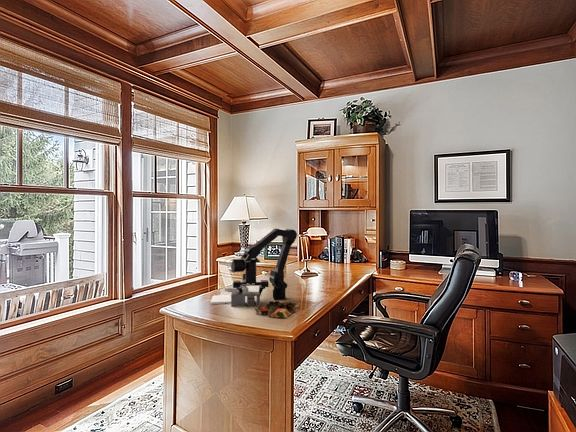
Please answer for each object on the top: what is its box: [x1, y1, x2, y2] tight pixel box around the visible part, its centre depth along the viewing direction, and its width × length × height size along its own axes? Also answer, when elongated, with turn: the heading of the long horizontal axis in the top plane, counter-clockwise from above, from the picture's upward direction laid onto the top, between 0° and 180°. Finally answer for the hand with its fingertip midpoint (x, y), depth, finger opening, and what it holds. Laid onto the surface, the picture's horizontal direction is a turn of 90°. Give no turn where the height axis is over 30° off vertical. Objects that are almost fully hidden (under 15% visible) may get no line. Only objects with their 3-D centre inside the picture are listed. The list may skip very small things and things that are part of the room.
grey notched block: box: [230, 291, 261, 307], centre depth 181 cm, size 14×5×6 cm, turn 97°
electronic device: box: [224, 275, 249, 293], centre depth 211 cm, size 5×10×15 cm
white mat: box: [209, 294, 231, 305], centre depth 189 cm, size 12×14×1 cm
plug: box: [246, 296, 256, 308], centre depth 183 cm, size 4×12×4 cm, turn 6°
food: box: [254, 300, 299, 319], centre depth 170 cm, size 22×19×4 cm
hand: (250, 300), depth 186 cm, fingers open, 8 cm apart
